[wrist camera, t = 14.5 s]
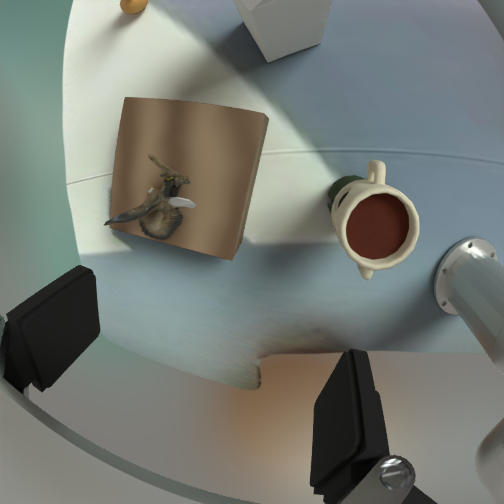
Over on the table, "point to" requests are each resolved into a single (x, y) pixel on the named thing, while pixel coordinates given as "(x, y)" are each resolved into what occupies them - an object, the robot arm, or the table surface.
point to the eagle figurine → (159, 206)
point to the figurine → (133, 6)
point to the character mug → (373, 220)
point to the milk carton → (284, 24)
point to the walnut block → (190, 167)
